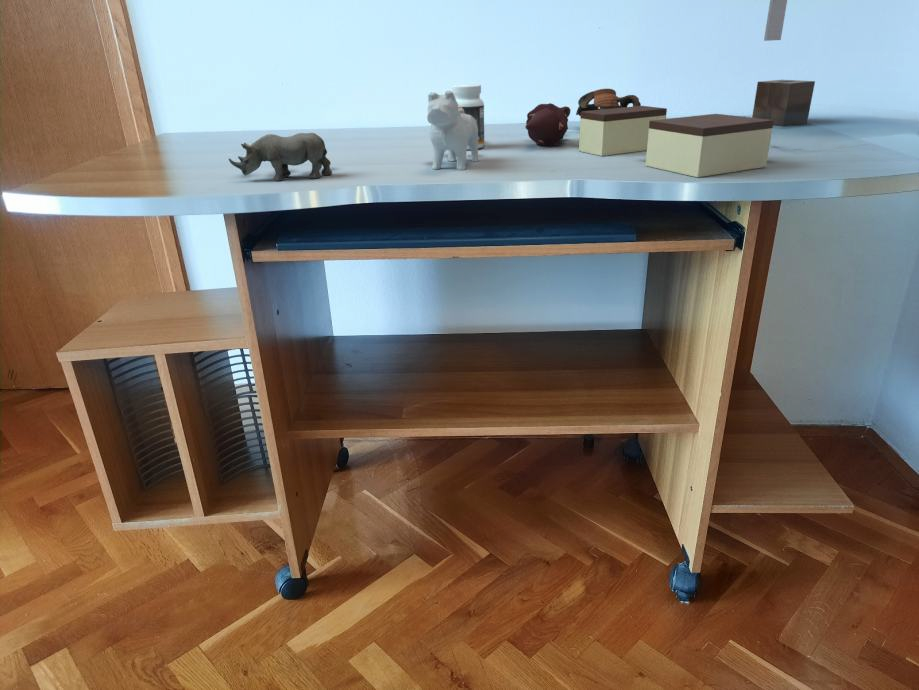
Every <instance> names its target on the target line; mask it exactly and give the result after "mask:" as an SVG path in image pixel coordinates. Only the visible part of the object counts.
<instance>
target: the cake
mask: <svg viewBox="0 0 919 690" xmlns="http://www.w3.org/2000/svg"><path fill="white" fill-rule="evenodd" d="M773 123H774V120H768V119H759V118H752V117H750V116H740V115H733V114H732V115H730V114H724V113H723V114H722V113H709V114H699V115H691V116H682V117H681V116H680V117H673V118H666V119H662V120H652V121H650V122H649V133H648V144H647V150H646V156H645V158H646V159H645V166H646V167H649V168H654V169H657V170H658V169H659V170H662V171H666V172H671V173H675V174H679V175H680V174H681V175H685V176H689V177H694V178H704V177H710V176H711V177H712V176H715V175H716V176H717V175H723V174H730V173H736V172H742V171H749V170H755V169H763V168H766V167H767V163H768V157H769V150H770V146H771V140H772V133H773V128H774V126H773Z"/></svg>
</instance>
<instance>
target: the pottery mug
mask: <svg viewBox="0 0 919 690" xmlns="http://www.w3.org/2000/svg"><path fill="white" fill-rule="evenodd" d="M591 101H593V103H591ZM577 104H578V107H577V110H576V112H575V115H576V116H579V117H580V116H581V111H592V110H602V109H612V108H623V107H629V105H630V104H632V107H633V106H642V105H641V104H642V103H641V101H640V98H639V97H638V96H637V95H634V94H628V95H624V96H621V97H619V96H618V95H617V92H616V90H615V89H613V88H600V89H596V90H593V91H589V92H587V93H585V94H583V95H582V96H580V98H579V99H578V101H577Z"/></svg>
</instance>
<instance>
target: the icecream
mask: <svg viewBox="0 0 919 690" xmlns="http://www.w3.org/2000/svg"><path fill="white" fill-rule="evenodd" d="M570 115H571V108H570V107H569V106H567V105H565V106H561V107H559V106H557V105H555V104H554V103H551V102H550V103H539V104H538V105H536V106H535V107H534V108H533V109H531V110H530V111H529V112H528V113H527V114H526V117H527V118H526V122H525V129H526V130H527V134H528V138H529V139H530V140H531V141H532V142H534V143H535V144H537V145H538V146H539V147H554V146H555V145H557V143H558V142H560V141H562V140H563V139H564V137H565V134H566V133H567V131H568V130H569V126H568V122H569V116H570Z"/></svg>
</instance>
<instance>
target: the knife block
mask: <svg viewBox="0 0 919 690" xmlns="http://www.w3.org/2000/svg"><path fill="white" fill-rule="evenodd" d="M815 84H816V81H815V80H797V79H796V80H795V79H772V80H763V81H761V80H760V81H757V84H756V91H755V97H754V103H753V109H752V116H751V118H759V119H768V120H774V123H773V127H783V128H784V127H792V126H801V125H807V124H808V120H809V115H810V110H811V105H812V100H813V99H812V98H813V94H814V89H815Z"/></svg>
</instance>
